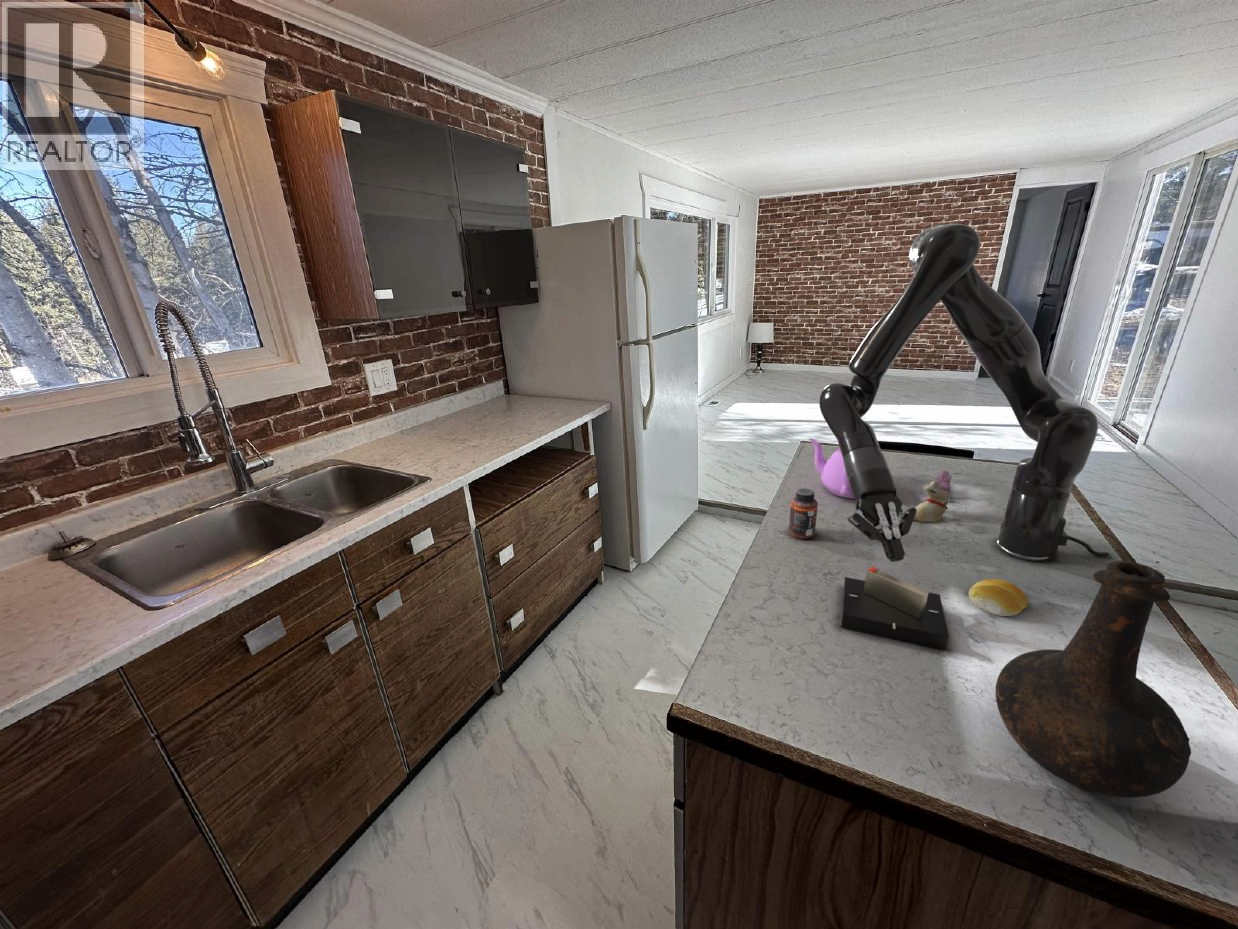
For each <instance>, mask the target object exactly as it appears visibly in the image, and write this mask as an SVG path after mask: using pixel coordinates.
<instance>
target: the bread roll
mask: <svg viewBox="0 0 1238 929" xmlns="http://www.w3.org/2000/svg"><path fill="white" fill-rule="evenodd" d="M968 598H969V599H970V601H971V603H973V605H975V606H976V607H978V608H979V609H981V610H984V611H985V612H987V613H989V614H992V615H995V616H1000V617H1013V616H1016V615H1019V614H1020V613H1021V612H1022V611H1023V610H1024V609H1026V608H1027V607H1028V604H1029V600H1028V597H1027V595H1026V593H1025V592H1024V591H1023V590H1022V588H1020V587H1018V586H1017V585H1015V584H1013V583H1011V582H1010V581H1007V580H1004V579H999V578H998V579H997V578H991V579H983V580H980V581H978V582H976V583H975V584H973V585H972V586H971V587H970V588H969V591H968Z"/></svg>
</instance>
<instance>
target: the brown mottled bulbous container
mask: <svg viewBox="0 0 1238 929" xmlns="http://www.w3.org/2000/svg"><path fill="white" fill-rule="evenodd" d="M1106 566H1107V567H1106V569H1101V570H1098V571H1095V572H1094V573H1093V574H1092V578H1093V580H1094V581H1095V582H1096V583H1098V584H1100V587H1099V589H1098V591H1097V594H1095V597H1094V599H1093V602H1092V604H1091V605H1090V608H1089V609H1088V611H1087V613H1086V615H1085V617H1084V618H1083V621H1081V624H1080V626H1079V627H1078V629H1077V630H1076V632H1075V634H1074V636H1073V637H1072V638H1071V640H1069V643H1068V644H1067V645H1066V646H1065V647H1064V649H1036V650H1032V651H1029V652H1025V653H1022V654H1020V655H1018V656H1016V657H1014V658H1013V659H1011V660H1009V661H1007V663H1006V664H1005V665H1004V666H1003V668H1002V669H1001V671H1000V672H999V675H998V676H997V680H996V683H995V693H994V694H995V701H996V702H995V703H996V706H997V709H998V712H999V715H1000V718H1001V720H1002V722H1003V724H1004V726H1005V728H1006V730H1007V731H1008V733H1009V734H1010V735H1011V737H1012V738H1013V741H1015V742H1016V744H1017V745H1018V746H1019V747H1020V748H1021V750H1022V751H1024V753H1025V754H1027V755H1028V756H1029V757H1030V758H1031V759H1032V760H1033V761H1034V762H1035V763H1037V764H1038V765H1040V767H1042V768H1044V769H1045V770H1046V771H1047V772H1049V773H1050V774H1052V775H1054V776H1056V777H1057V778H1059V779H1061V780H1062V781H1064V782H1066V783H1068V784H1070V785H1073V786H1075V787H1076V788H1079V789H1081V790H1085V791H1088V792H1091V793H1094V794H1097V795H1101V796H1107V797H1114V798H1123V799H1124V798H1125V799H1127V798H1128V799H1133V798H1136V799H1137V798H1147V797H1152V796H1155V795H1158V794H1161V793H1163V792H1165V791H1167V790H1168V789H1170V788H1172V787H1173V786H1174V785H1176V784H1178V782H1179V780H1180V779H1181V778H1182V777H1183V776H1184V775H1185V773H1186V771H1187V769H1188V765H1189V763H1190V757H1191V755H1192V748H1191V745H1190V740H1191V739H1190V738H1189V736H1188V733H1187V731H1186V730H1185V726H1184V725H1183V723H1182V721H1181V718H1179V716H1178V714H1177V713H1176V711H1175V710H1174V708H1173V707H1172V706H1171V705H1170V704H1169V703H1168V702H1167V701H1166V700H1165V699H1164V698H1163V697H1162V696H1161V695H1160V694H1159V693H1158V692H1157V691H1156V690H1154V689H1153V688H1152V687H1150V685H1147V684H1146V683H1145V682H1144V681H1142V680H1141V679H1139V678H1138V677H1137V670H1138V663H1139V662H1138V661H1139V656H1140V652H1141V647H1142V643H1143V640H1144V636H1145V632H1146V627H1147V625H1148V622H1149V619H1150V615H1151V612H1152V610H1153V606H1154V604H1155V602H1157V603H1163V602H1168V601H1169V600H1170V599H1171V595H1170V593H1169V591H1167V590H1166V588H1165V587H1164V586H1163V584H1165V583H1166V576H1165V575H1164V574H1163V573H1162V572H1160V571H1159V570H1157V569H1155V568H1153V567H1151V566H1148V565H1145V564H1141V563H1138V562H1133V561H1128V560H1115V561H1111V562H1109V563H1107V565H1106Z"/></svg>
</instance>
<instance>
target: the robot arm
mask: <svg viewBox="0 0 1238 929" xmlns="http://www.w3.org/2000/svg"><path fill="white" fill-rule="evenodd" d="M980 249H981V239H980V236H979V234H978V232H977V231H976V230H975V229H974V227H972V226H970V225H967V224H962V223H948V224H939V225H934V226H932V227H929V228H927V229H925V230H923V231H922V232H920V233H919V234H918V235H917V236H916V237H915V239H914V240H913V242H912V243H911V245H910V250H909V263H910V265H911V268H912V269H913V271H914V272H913V275H912V277H911V278H910V281H909V283H908V284H907V286H906V287H905V289H904V290H903V292H902V293H901V295H900V296H899V298H898V299H896V301H895V302H894V304H893V305H892V306H891V307H890V308H889V309H888V310H887V311H886V312H885V313H884V314H883V315H882V317H881V318H880V319H879V320H878V321H877V322H876V323H875V325H874V326H872V328H871V329H870V330H869V332H868V333H867V335H866V336H865V338H864V340H862V341H861V344H860V345H859V347H858V348H857V350H856V351H855V353H854V355H853V356H852V357H851V360H850V361H849V363H848V370H849V371H850V372H851V373H852V374H853V376H852V380H851V382H850V384H849V385H848V384H845V383H841V382H834V383H830V384H828V385H826V386H825V387H824V388H823V389H822V391H821V392H820V395H819V402H818V405H819V410H820V413H821V415H822V418H823V419H824V421H825V422H826V424H827V426H828V428H829V429H830V432H832V434H833V435H834V437H835V438H836V440H837V443H838V448H840V450H841V453H842V457H843V460H844V466H845V471H846V475H847V477H848V480H849V483H850V486H851V489H852V493H853V496H854V499H853V500H855V502H856V504H855V509H856V511H855V512H854V513H853V514H852V515H850V516H849V517H848V518H847V521H848V522H849V523H850V524H851V525H852V526H853V527H854V528H856V529H857V531H860V532H861V533H862V534H863V535H864V536H866V537H867V538H868V539H869V540H870V541H878V542H879V543H881V546H882V549H883V552H884V554H885V557H886V559H888V560H889V561H890V562H891V563H894V562H895V563H896V562H900V561H903V560H904V558H905V556H906V553H905V549H904V546H903V544H902V541H901V538H902V537H905V536H906V535H908V534H909V533H910V530H911V528H912V525H913V523H914V521H915V520H914V517H915V515H916V512H917V510H916V509H915V508H916V507H913V506H912V507H908V506H906V505H904V504H903V501H902V499H901V498H899V496H898V495H897V487H896V483H895V481H894V479H893V476H892V473H891V470H890V468H889V465H888V462H887V460H886V457H885V455H884V452H883V451H882V448H881V447H880V444H879V441H878V438H877V435H876V433H875V430H874V428H873V427H872V425H871V424H870V423H868V422H866V421H865V420H863V419H862V417H864V416H865V415H866V414H867V413H868V412H869V410H870V409H871V407H872V405H873V404H874V402H875V398H876V396H877V394H878V391H879V389H880V386H881V383H882V379H883V377H884V376H885V375H886V373H887V371H888V370H889V369H890V367H891V366H892V364H893V363H894V361H895V360H896V358H897V357H898V356H899V354H900V352H901V351H902V350H903V348H904V347H905V345H906V344H907V342H909V340H910V339H911V337H912V336H913V334H914V333H915V332H916V331H917V329H918V327H919V326H920V325H921V324H922V322H923V321H924V320H925V318H926V317H927V316H928V315H929V314H930V313H931V312H932V310H933V309H934V308H935V307H936V306H937V305H938V303H939V302H941V304H942V305H943V306H944V307H945V310H946V311H947V313H948V314H949V317H950V318H951V320H952V322H953V323H954V325H955V328H957V330H958V332H959V333H960V335H961V336H962V338H963V340H964V341H965V344H966V345H967V346H968V348H969V350H970V351H971V352H972V354H973V355H974V357H975V358H976V360H977V361H978V363H979V364H980V365H981V366H982V368H983V369H984V370H985V372H986V373H987V374H988V376H989V377H990V379H991V380H992V382H994V384H995V385H996V386H997V388H999V390H1000V391H1001V392H1002V394H1003V395H1004V397H1005V399H1006V400H1007V402H1008V404H1009V406H1010V408H1011V410H1012V412H1013V414H1014V416H1015V418H1016V420H1017V422H1018V424H1019V426H1020V428H1021V430H1022V431H1023V432H1024V434H1025V435H1026V436H1027V437H1029V439H1031V440H1033V441H1034V442H1036V446H1035V449H1034V453H1033V455H1032V457H1027V458H1023V459H1021V460H1020V461H1019V462H1018V463H1017V466H1016V469H1015V474H1014V477H1013V481H1012V485H1011V489H1010V492H1009V497H1008V500H1007V504H1006V509H1005V512H1004V515H1003V519H1002V522H1001V524H1000V528H999V529H1000V531H999V534H998V537H997V540H996V546H997V548H998V549H999V550H1001V551H1002V552H1003V553H1005V554H1007V555H1008V556H1011V557H1014V558H1017V559H1020V560H1024V561H1030V562H1044V561H1055V559H1056V555H1057V552H1058V549H1059V546H1061V547H1066V546H1067V543H1068V541H1072V542H1074V543H1076V544H1079V545H1081V546H1082V547H1084V548H1085V550H1087V551H1088V553H1090V554H1091V555H1093V556H1096V557H1110V553H1109V552H1104V551H1103V552H1099V551H1095V550H1094V549H1093V548H1092V547H1091V546H1090V544H1088V543H1087V542H1085V541H1082V540H1081V539H1078V538H1076V537H1074V536H1070V535H1068V534H1067V532H1066V531H1065V528H1066V524H1067V519H1066V518H1065V517H1064V514H1065V512H1066V508H1067V507H1068V506H1067V505H1068V503H1069V499H1070V497H1071V496H1070V495H1071V493H1072V489H1073V486H1074V483H1075V480H1076V477H1078V475H1079V474H1080V473H1081V472H1082V471H1083V470H1084V468H1085V467H1086V464H1087V461H1088V460H1089V456H1090V454H1091V451H1092V449H1093V447H1094V444H1095V441H1096V438H1097V434H1098V430H1099V420H1098V417H1097V415H1096V414H1095V413H1094V411H1092V410H1090V409H1089V408H1087V407H1085V406H1082V405H1079V404H1077V403H1074V402H1072V401H1069V400H1067V399H1066V398H1065V397H1063V396H1062V395H1061V394H1060V393H1059V392H1058V391H1057V390H1056V389H1055V387H1054V386H1053V385H1052V383H1051V382H1050V381H1049V379H1048V378H1047V377H1046V374H1045V373H1044V372H1043V367H1042V358H1041V350H1040V345H1039V342H1038V339H1037V338H1036V336H1035V334H1034V332H1033V331H1032V329H1031V327H1029V325H1028V324H1027V321H1026V320H1025V318H1024V317H1023V316H1022V315H1021V314H1020V312H1019V311H1018V310H1017V309H1016V308H1015V307H1014V306H1013V305H1012V304H1011V303H1010V302H1009V301H1008V300H1007V299H1005V297H1004V296H1002V294H1000V293H999V292H997V291H996V290H995V289H994V288H993V287H992V286H990V284H989V283H987V281H985V279H984V278H983V277H982V275H981V274H980V272H979V271H978V270H977V268H976V266H975V264H974V262H975V261H976V260H977V258H978V256H979V252H980ZM899 518H900V521H899Z"/></svg>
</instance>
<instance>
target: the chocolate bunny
mask: <svg viewBox="0 0 1238 929" xmlns="http://www.w3.org/2000/svg"><path fill="white" fill-rule="evenodd" d="M924 491H925V493H927V495H928V497H927V498H926V499H925V501H923V502H921V503H919V504H917V505H916V506H915V507H914V508H915V509H916V510H917V512H916V515H915V517H914V520H913V521H917V522H922V523H936V522H937V523H938V522H939V521H942V520H943V518H944V516H943V515H944V514H945V512H946V511H947V510H948V508H949V507H948V506H947V505H948V504H949V502H950V492H946V491H943V490H942V489H941V487H940V486H939V485H938V484H937V483H936V482H935V480H932V481H931V483H930V484H929V485H927V486H926V487H924Z"/></svg>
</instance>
